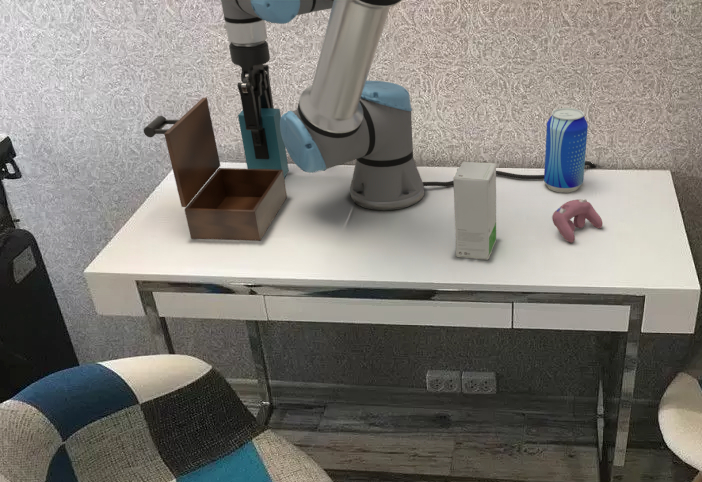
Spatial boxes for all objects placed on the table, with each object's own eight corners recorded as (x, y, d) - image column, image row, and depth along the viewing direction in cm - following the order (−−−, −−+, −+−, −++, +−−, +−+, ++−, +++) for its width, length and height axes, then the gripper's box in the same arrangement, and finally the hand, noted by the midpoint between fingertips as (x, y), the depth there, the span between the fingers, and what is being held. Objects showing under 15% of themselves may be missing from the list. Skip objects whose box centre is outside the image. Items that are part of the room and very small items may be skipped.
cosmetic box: (488, 261, 143) (489, 181, 134) (452, 257, 144) (451, 177, 135) (497, 239, 150) (498, 162, 141) (463, 236, 151) (462, 159, 142)
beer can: (556, 174, 174) (561, 103, 165) (590, 184, 170) (596, 111, 161) (536, 187, 169) (539, 114, 160) (570, 197, 165) (575, 123, 156)
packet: (288, 170, 174) (279, 108, 166) (283, 179, 170) (273, 116, 162) (255, 169, 174) (244, 107, 166) (249, 178, 170) (237, 115, 162)
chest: (287, 199, 164) (282, 169, 160) (260, 243, 148) (254, 211, 144) (225, 197, 164) (219, 167, 161) (191, 241, 149) (184, 209, 145)
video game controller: (588, 229, 157) (578, 195, 155) (606, 226, 153) (596, 191, 151) (556, 245, 151) (545, 210, 149) (573, 243, 147) (562, 207, 146)
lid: (206, 97, 152) (167, 96, 153) (168, 133, 137) (124, 132, 137) (220, 165, 160) (183, 164, 161) (185, 207, 145) (144, 206, 145)
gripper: (243, 29, 163) (260, 137, 177) (214, 53, 149) (235, 169, 162) (278, 30, 163) (293, 138, 176) (253, 54, 149) (271, 170, 162)
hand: (266, 153), depth 169 cm, fingers closed on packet, 5 cm apart
